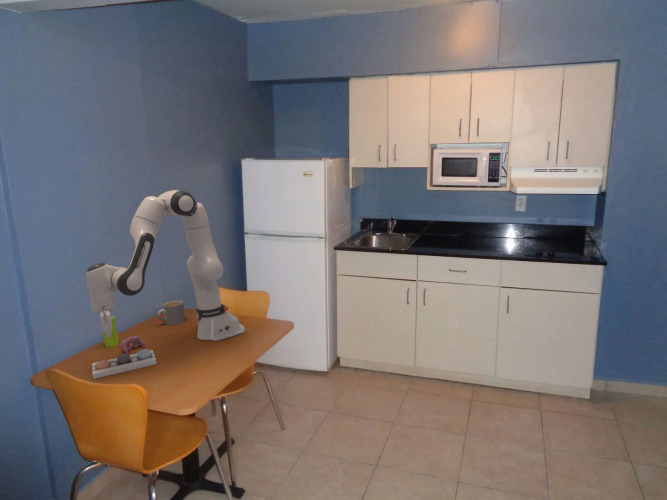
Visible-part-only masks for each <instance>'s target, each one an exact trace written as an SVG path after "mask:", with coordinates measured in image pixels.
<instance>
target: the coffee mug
mask: <svg viewBox="0 0 667 500" xmlns="http://www.w3.org/2000/svg"><path fill="white" fill-rule="evenodd" d="M184 307H185V306H184V301H181V300H172V301H168V302H165V303H164V304H162V309H160V310H158V311H157V314H156V315H157V318H158V320H159V321H161V322H165V325H167V326H176V325H177V326H178V325H180V324H183V323H185V322H186V314H185V308H184ZM162 313H163V317H161V314H162Z"/></svg>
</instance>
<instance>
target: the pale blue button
mask: <svg viewBox="0 0 667 500" xmlns="http://www.w3.org/2000/svg"><path fill="white" fill-rule="evenodd" d="M136 354H138V360H137V361H140V360H145V359H149V358H152V357H151V355H150V349H149V348H143V349H140V350H137V352H136Z"/></svg>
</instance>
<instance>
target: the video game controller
mask: <svg viewBox="0 0 667 500" xmlns="http://www.w3.org/2000/svg"><path fill="white" fill-rule="evenodd" d="M131 344H132V345H131ZM139 345H140V346H142V347H143V348H146V342H145V341H144V340H143V338H142V337H141V336H139V335H131V336H128V337H125V339H122V340H121V342H120V343H119V346H120V348H121V349H122V350H123V352H124V354H125V353H128V354H129V352H130V351H131V350H132V349H133V348H134V349H137V348H139Z"/></svg>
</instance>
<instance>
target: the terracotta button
mask: <svg viewBox="0 0 667 500" xmlns="http://www.w3.org/2000/svg"><path fill="white" fill-rule="evenodd" d="M97 362H98V363H97V364H96V369H97V370H101V369H105V368H110V363H109V361H105V360H101V361H97Z"/></svg>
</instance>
